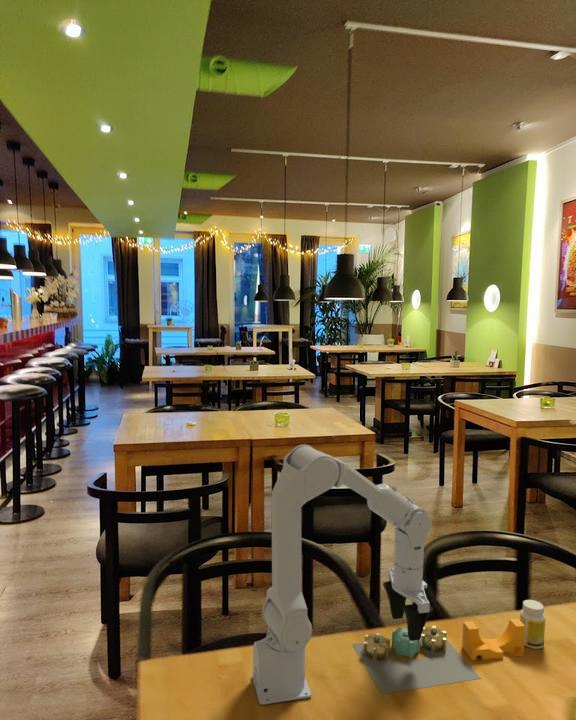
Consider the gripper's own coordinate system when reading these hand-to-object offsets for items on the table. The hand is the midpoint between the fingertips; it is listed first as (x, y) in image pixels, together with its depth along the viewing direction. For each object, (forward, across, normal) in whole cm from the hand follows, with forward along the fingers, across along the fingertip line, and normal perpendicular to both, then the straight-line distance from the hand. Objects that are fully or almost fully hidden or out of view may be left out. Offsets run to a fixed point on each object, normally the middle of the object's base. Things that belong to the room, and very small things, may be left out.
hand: (405, 628), depth 108 cm
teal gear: (+5, 0, 0) cm, 5 cm away
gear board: (+5, -4, 0) cm, 7 cm away
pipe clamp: (+6, -4, -18) cm, 19 cm away
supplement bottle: (+6, -2, -28) cm, 29 cm away
